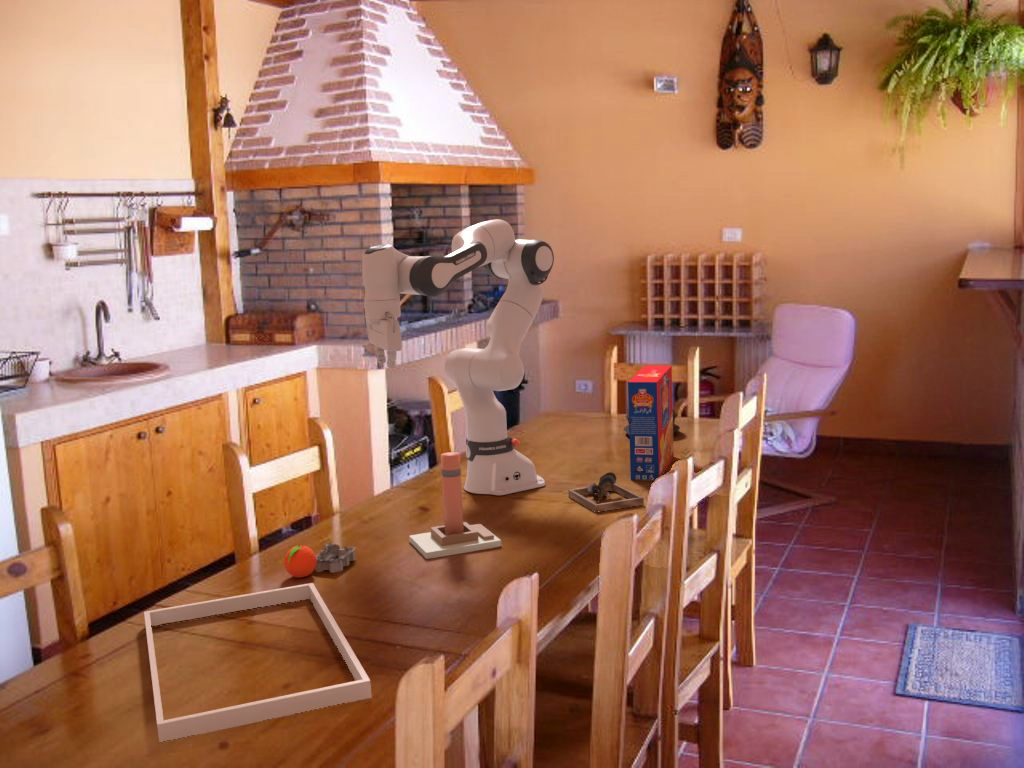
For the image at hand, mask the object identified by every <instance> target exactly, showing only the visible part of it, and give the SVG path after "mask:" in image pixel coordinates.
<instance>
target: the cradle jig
mask: <svg viewBox="0 0 1024 768" xmlns="http://www.w3.org/2000/svg"><path fill="white" fill-rule="evenodd" d="M463 527H464V533H458V534H452V535H446V536H445V525H443V524H442V525H438V526H432V527H430V532H423V533H417V534H410V535H409V537H408V538H409V543H410V544H411V545H412V546H413V547H414V548H415V549H416V551H418V552H419V553H420V554H421V555H422V556H423V558H424V559H426V560H429V559H436V558H442V557H446V556H452V555H453V556H454V555H458V554H464V553H471V552H477V551H482V550H488V549H495V548H500V546H501V547H502V540H501V538H499V537H498V536H496V535H495V534H494V533H492V531H490V530H489V529H488V528H486V527H485V526H483V524H481V523H476V524H469V523H468V522H467V521H463Z"/></svg>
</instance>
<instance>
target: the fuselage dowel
mask: <svg viewBox="0 0 1024 768" xmlns="http://www.w3.org/2000/svg"><path fill="white" fill-rule="evenodd" d="M440 465H441V467H440V469H441V482H442V483H441V485H442V502H443V519H444V520H443V523H444V525H445V536H446V535H452V534H458V533H464V527H463V522H464V512H463V511H464V510H463V491H462V489H463V488H462V468H461V453H460V452H456V451H455V452H454V451H451V452H450V451H449V452H444V453H441V454H440Z"/></svg>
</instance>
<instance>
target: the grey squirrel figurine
mask: <svg viewBox="0 0 1024 768" xmlns="http://www.w3.org/2000/svg"><path fill="white" fill-rule="evenodd" d="M616 481H617V477H616V473H614V472H606V473H604V475H602V476H600V478H599V481H598V484H596V482H592V483H590V484H588V486H587V487H588V488H587V490H588V492H591V493H592V492H593V493H597V494H593V495H594V496H597V497H598V498H597V502H598V501H601V500H602V499H603V497H604V496H605V497H607V498H609V499H610V498H611V499H612V495H611V494H610V492H607V491H609V490H610V489H611V485H613V484H615V483H616ZM616 484H617V483H616ZM609 486H610V487H609ZM607 487H609V488H608V489H607ZM606 489H607V490H606Z"/></svg>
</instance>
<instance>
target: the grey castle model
mask: <svg viewBox="0 0 1024 768" xmlns="http://www.w3.org/2000/svg"><path fill="white" fill-rule="evenodd" d="M356 549H357V547H353V546H350V547H348V546H346V545H345V546H344V548H341V547H340V545H339V544H337V543H332V542H331V540H330V541H328V542H326V544H324V546H323V547H322V550H320V551H319V552H318V554H316V555H315V556H316V560H317V561H316V566H315V570H314V571H315V572H316V571H318V572H317V573H322V572H324V570H329V573H332V574H334V573H337V572H342V571H344V567H348V566H349V565H350V562H355V560H356V554H355V553H356V552H355V550H356ZM336 556H338V557H336Z"/></svg>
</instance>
